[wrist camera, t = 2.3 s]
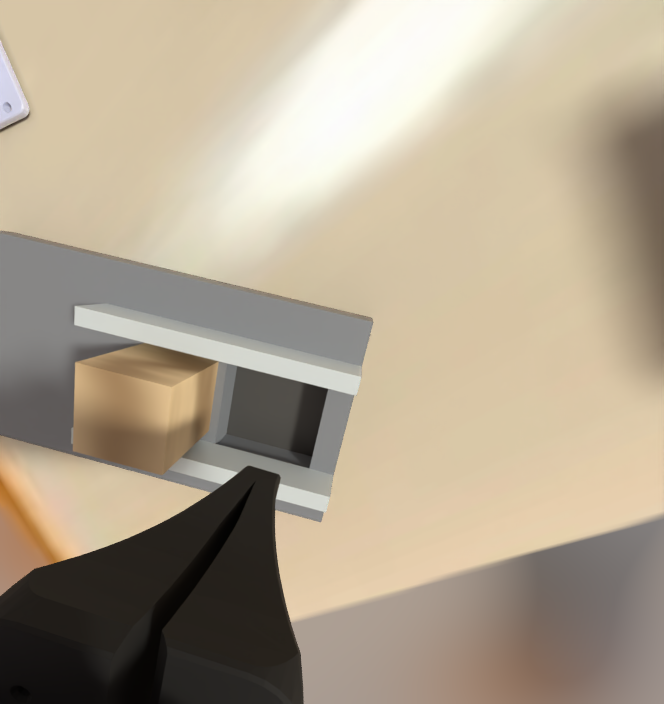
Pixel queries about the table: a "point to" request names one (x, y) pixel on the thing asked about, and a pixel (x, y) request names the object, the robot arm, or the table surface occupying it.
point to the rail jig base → (188, 337)
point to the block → (142, 405)
